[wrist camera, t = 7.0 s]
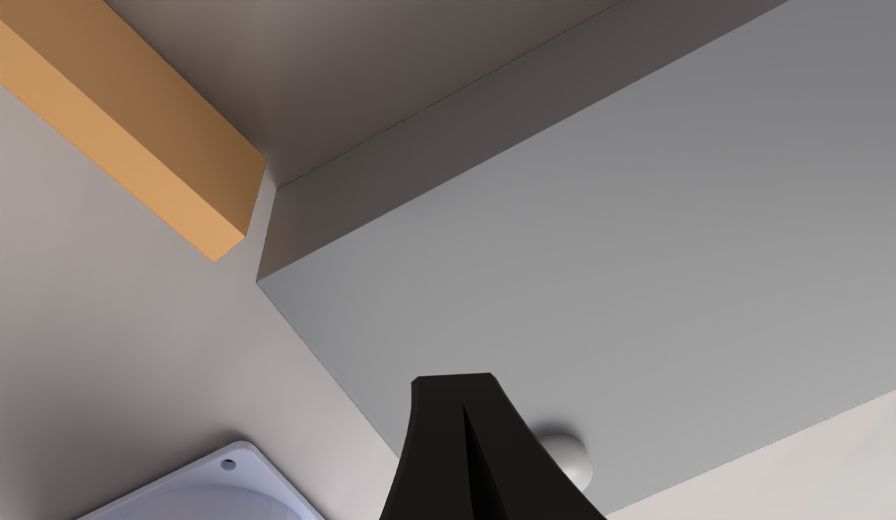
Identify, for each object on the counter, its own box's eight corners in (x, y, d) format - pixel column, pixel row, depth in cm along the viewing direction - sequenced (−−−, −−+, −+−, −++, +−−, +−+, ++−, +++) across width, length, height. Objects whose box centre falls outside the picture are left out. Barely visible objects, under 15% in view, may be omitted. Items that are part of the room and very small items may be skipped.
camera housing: (465, 448, 27) (489, 584, 22) (276, 190, 21) (252, 297, 16) (909, 243, 24) (1047, 344, 19) (836, -118, 18) (1009, -101, 13)
